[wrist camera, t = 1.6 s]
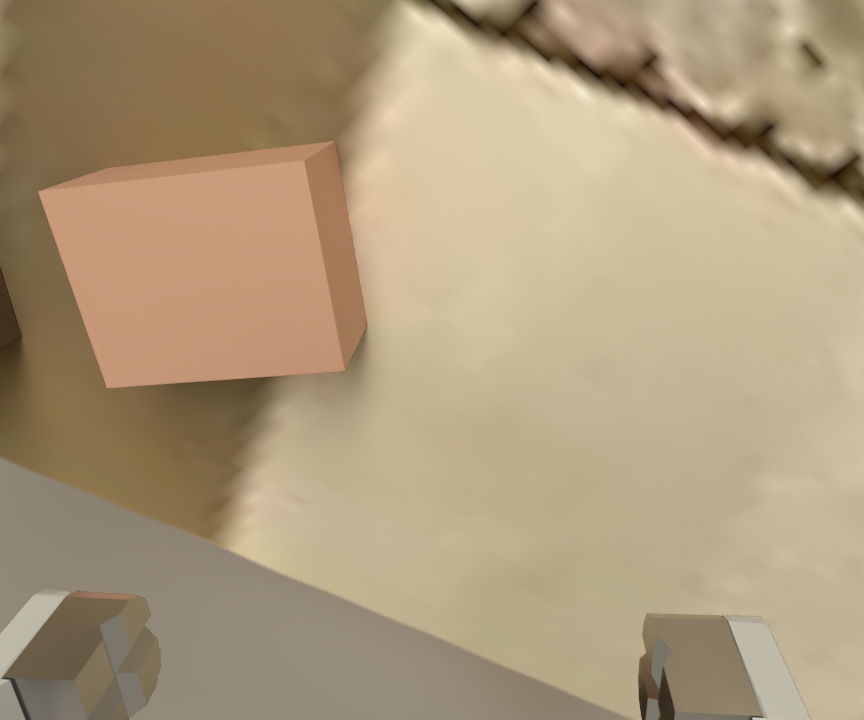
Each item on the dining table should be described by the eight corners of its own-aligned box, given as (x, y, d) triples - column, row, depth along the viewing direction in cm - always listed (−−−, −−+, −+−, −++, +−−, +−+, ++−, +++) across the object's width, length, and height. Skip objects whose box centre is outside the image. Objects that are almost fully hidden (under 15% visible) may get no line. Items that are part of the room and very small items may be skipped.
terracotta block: (336, 140, 29) (304, 160, 24) (368, 323, 32) (345, 371, 27) (109, 167, 30) (38, 191, 25) (161, 339, 33) (107, 387, 29)
